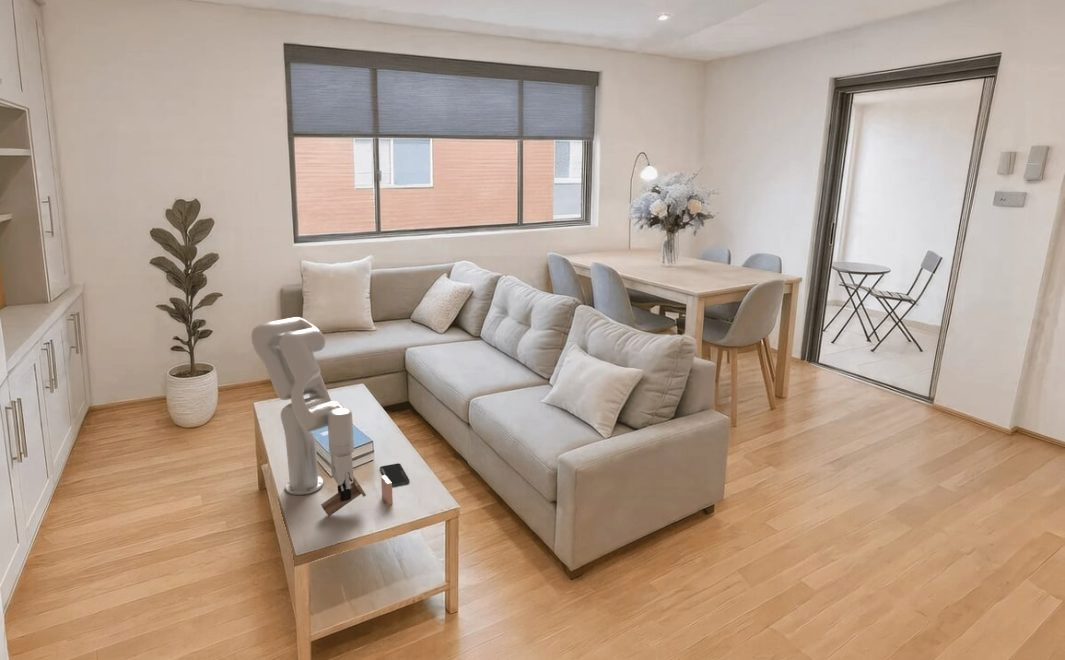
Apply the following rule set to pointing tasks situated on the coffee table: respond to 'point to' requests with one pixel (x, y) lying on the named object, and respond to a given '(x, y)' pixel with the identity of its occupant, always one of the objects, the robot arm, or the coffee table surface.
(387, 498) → the tile
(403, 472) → the phone
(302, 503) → the coffee table surface
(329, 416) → the robot arm
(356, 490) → the post on base stand
